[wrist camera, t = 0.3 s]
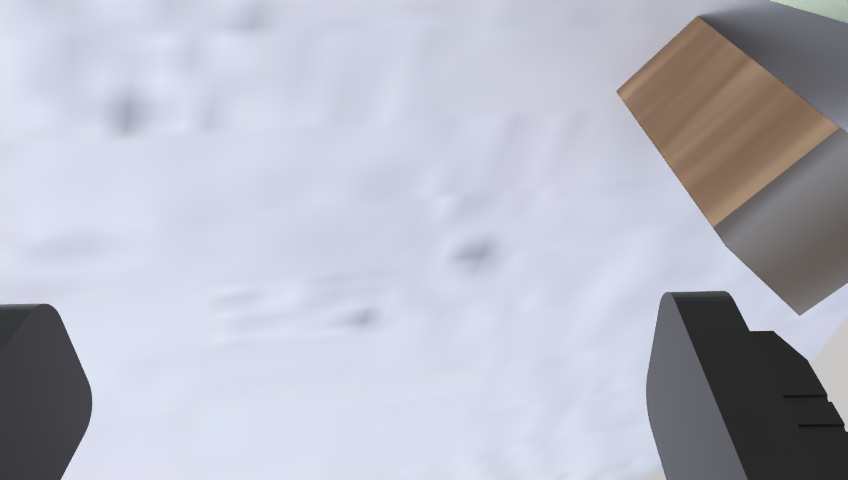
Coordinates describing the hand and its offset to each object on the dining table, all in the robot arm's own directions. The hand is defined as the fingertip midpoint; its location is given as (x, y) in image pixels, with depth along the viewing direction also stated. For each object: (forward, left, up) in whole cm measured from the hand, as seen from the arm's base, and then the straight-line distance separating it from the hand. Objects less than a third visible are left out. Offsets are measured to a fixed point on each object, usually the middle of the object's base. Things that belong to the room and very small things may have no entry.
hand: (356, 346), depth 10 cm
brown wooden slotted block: (+6, +11, -20) cm, 23 cm away
